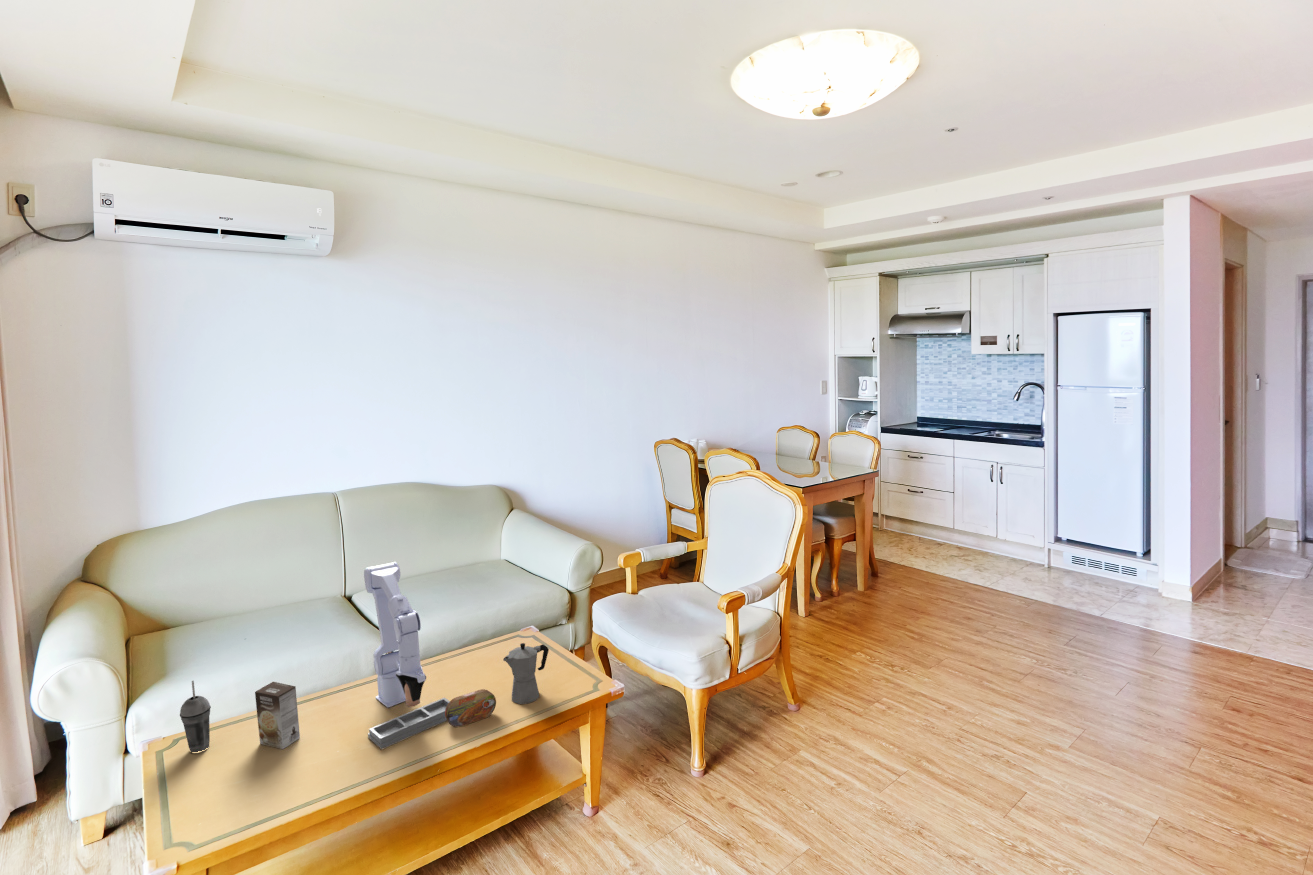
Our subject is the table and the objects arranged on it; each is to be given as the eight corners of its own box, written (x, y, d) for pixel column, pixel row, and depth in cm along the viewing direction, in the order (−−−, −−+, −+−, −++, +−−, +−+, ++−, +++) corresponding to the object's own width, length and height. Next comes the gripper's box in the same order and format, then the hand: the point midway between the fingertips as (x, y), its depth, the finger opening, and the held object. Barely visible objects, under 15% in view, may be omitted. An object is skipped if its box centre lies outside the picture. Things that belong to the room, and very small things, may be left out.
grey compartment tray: (368, 737, 193) (367, 727, 192) (444, 704, 210) (443, 696, 209) (381, 749, 186) (380, 739, 186) (459, 714, 204) (458, 706, 203)
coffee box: (258, 744, 191) (253, 691, 189) (277, 732, 197) (272, 680, 195) (283, 749, 188) (277, 695, 186) (301, 737, 194) (296, 685, 192)
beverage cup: (182, 759, 184) (173, 691, 182) (186, 746, 191) (178, 680, 188) (213, 751, 187) (205, 684, 185) (216, 739, 194) (209, 673, 192)
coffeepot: (512, 709, 206) (509, 654, 203) (500, 697, 213) (497, 644, 211) (556, 694, 215) (554, 640, 212) (543, 682, 222) (541, 631, 220)
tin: (447, 730, 195) (445, 703, 194) (444, 725, 198) (442, 699, 197) (497, 714, 203) (495, 688, 202) (493, 710, 206) (492, 684, 205)
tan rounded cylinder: (403, 703, 197) (401, 681, 196) (416, 698, 200) (414, 676, 199) (409, 708, 194) (407, 685, 194) (422, 702, 197) (420, 680, 196)
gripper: (385, 650, 198) (388, 694, 199) (407, 665, 188) (410, 711, 189) (408, 643, 203) (411, 685, 204) (430, 657, 193) (434, 701, 194)
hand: (412, 697), depth 197 cm, fingers closed on tan rounded cylinder, 4 cm apart
